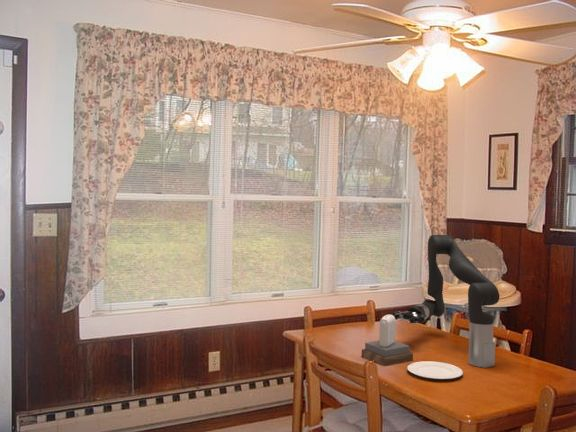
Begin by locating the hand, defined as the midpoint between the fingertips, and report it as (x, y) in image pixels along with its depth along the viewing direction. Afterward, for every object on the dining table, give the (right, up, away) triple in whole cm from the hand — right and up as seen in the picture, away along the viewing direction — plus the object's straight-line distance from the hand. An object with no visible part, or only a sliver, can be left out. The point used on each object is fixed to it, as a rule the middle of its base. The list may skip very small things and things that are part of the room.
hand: (401, 319), depth 243 cm
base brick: (-8, -15, -9) cm, 19 cm away
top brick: (-8, -12, -10) cm, 17 cm away
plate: (+7, -16, -28) cm, 33 cm away
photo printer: (-8, -9, -10) cm, 15 cm away
